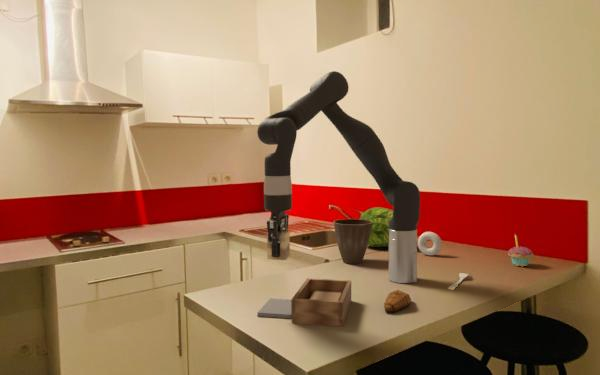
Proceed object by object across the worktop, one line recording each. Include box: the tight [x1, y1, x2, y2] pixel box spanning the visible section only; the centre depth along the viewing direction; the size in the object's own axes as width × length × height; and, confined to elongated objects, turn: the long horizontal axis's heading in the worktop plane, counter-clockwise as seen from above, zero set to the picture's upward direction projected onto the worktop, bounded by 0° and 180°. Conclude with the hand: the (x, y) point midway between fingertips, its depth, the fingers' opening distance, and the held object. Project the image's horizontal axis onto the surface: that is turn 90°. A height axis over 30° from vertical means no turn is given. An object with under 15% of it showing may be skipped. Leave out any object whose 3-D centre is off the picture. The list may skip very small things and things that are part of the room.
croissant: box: [383, 289, 412, 313], centre depth 127 cm, size 14×7×5 cm, turn 144°
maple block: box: [266, 230, 291, 261], centre depth 125 cm, size 5×5×7 cm
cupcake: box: [507, 233, 535, 265], centre depth 170 cm, size 9×8×12 cm
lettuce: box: [359, 206, 393, 248], centre depth 206 cm, size 19×23×18 cm
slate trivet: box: [256, 298, 292, 319], centre depth 126 cm, size 9×12×1 cm
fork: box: [448, 272, 471, 288], centre depth 150 cm, size 3×21×3 cm, turn 145°
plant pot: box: [333, 218, 372, 265], centre depth 180 cm, size 15×15×16 cm
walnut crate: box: [290, 278, 352, 327], centre depth 124 cm, size 13×20×6 cm, turn 168°
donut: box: [417, 231, 443, 257], centre depth 189 cm, size 10×4×10 cm, turn 55°
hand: (278, 254), depth 125 cm, fingers closed on maple block, 5 cm apart
